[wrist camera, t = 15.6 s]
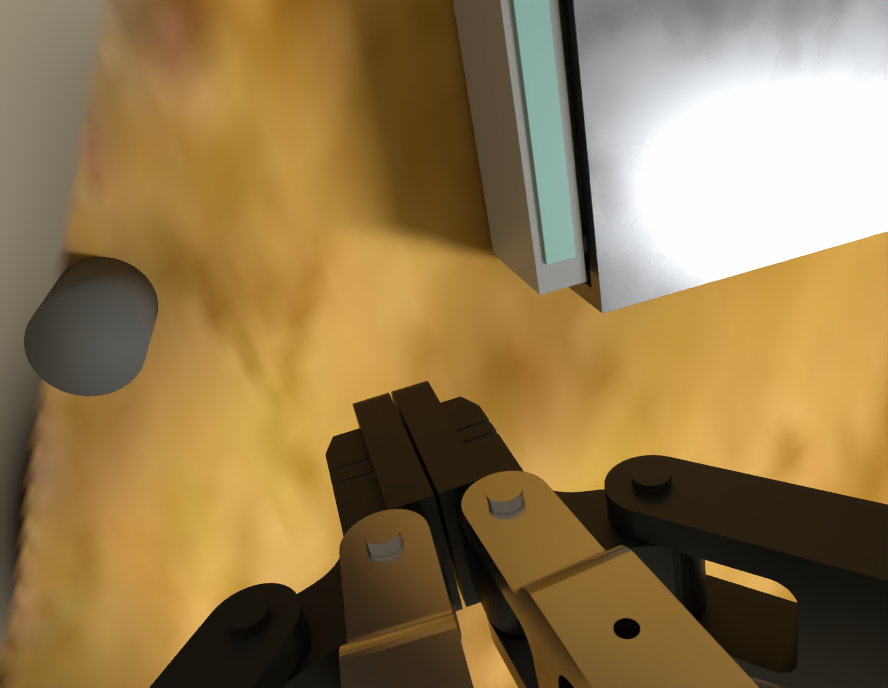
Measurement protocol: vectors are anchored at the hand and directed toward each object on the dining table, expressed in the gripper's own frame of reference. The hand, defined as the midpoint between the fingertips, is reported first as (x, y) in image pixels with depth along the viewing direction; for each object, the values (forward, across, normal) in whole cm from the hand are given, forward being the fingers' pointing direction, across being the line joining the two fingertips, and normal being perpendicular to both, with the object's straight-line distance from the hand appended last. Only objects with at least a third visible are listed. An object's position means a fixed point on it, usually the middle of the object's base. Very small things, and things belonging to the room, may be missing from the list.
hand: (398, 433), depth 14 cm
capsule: (+19, +9, +1) cm, 21 cm away
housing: (+19, -17, -2) cm, 25 cm away
